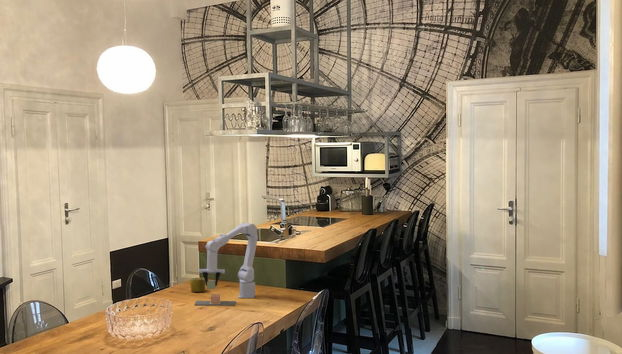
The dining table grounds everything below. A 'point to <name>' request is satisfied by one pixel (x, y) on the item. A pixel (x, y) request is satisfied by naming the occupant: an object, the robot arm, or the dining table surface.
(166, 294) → the dining table surface
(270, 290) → the dining table surface
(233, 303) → the baseplate
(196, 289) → the mug
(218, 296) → the terracotta brick
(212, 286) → the green brick
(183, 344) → the dining table surface
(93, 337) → the dining table surface
